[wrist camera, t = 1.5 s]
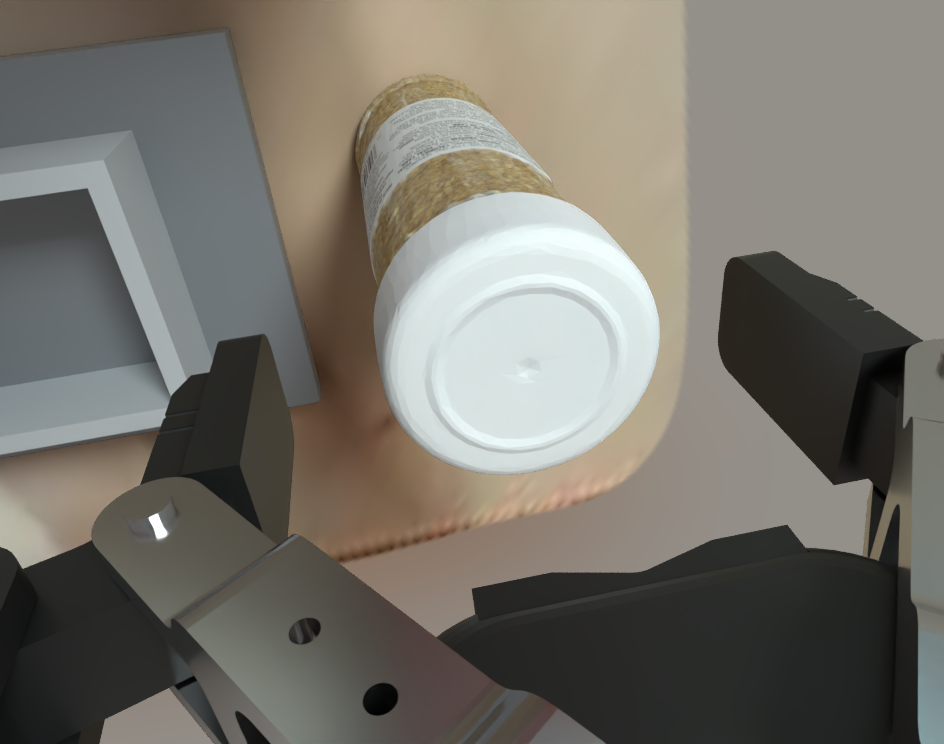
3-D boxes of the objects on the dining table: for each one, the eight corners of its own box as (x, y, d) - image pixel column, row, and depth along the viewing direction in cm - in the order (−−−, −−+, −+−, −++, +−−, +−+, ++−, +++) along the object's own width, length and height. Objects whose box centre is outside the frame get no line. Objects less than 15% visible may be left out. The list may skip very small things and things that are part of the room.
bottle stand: (-323, 97, 18) (-467, 136, 15) (228, 27, 20) (208, 48, 16) (-81, 456, 25) (-145, 539, 22) (320, 386, 26) (319, 454, 23)
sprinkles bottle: (469, 233, 24) (595, 504, 13) (336, 195, 23) (346, 463, 11) (519, 97, 22) (721, 277, 11) (375, 45, 21) (435, 192, 9)
